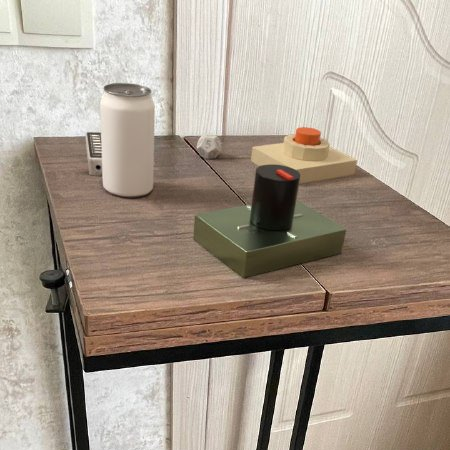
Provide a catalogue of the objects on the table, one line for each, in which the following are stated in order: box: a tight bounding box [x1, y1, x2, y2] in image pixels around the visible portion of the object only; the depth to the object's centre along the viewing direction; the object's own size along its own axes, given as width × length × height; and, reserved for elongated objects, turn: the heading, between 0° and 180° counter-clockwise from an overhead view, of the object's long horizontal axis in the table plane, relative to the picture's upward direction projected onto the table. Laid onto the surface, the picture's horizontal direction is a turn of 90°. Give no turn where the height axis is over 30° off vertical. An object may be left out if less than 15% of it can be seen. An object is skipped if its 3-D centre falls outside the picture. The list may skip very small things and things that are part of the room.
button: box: [295, 126, 322, 146], centre depth 91 cm, size 4×4×2 cm
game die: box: [196, 133, 222, 160], centre depth 93 cm, size 4×4×3 cm
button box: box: [250, 133, 358, 185], centre depth 93 cm, size 12×10×4 cm
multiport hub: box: [84, 131, 103, 177], centre depth 88 cm, size 4×11×2 cm, turn 12°
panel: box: [193, 199, 347, 279], centre depth 71 cm, size 14×10×3 cm
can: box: [99, 82, 156, 199], centre depth 78 cm, size 6×6×12 cm
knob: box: [250, 164, 300, 230], centre depth 68 cm, size 5×5×6 cm
